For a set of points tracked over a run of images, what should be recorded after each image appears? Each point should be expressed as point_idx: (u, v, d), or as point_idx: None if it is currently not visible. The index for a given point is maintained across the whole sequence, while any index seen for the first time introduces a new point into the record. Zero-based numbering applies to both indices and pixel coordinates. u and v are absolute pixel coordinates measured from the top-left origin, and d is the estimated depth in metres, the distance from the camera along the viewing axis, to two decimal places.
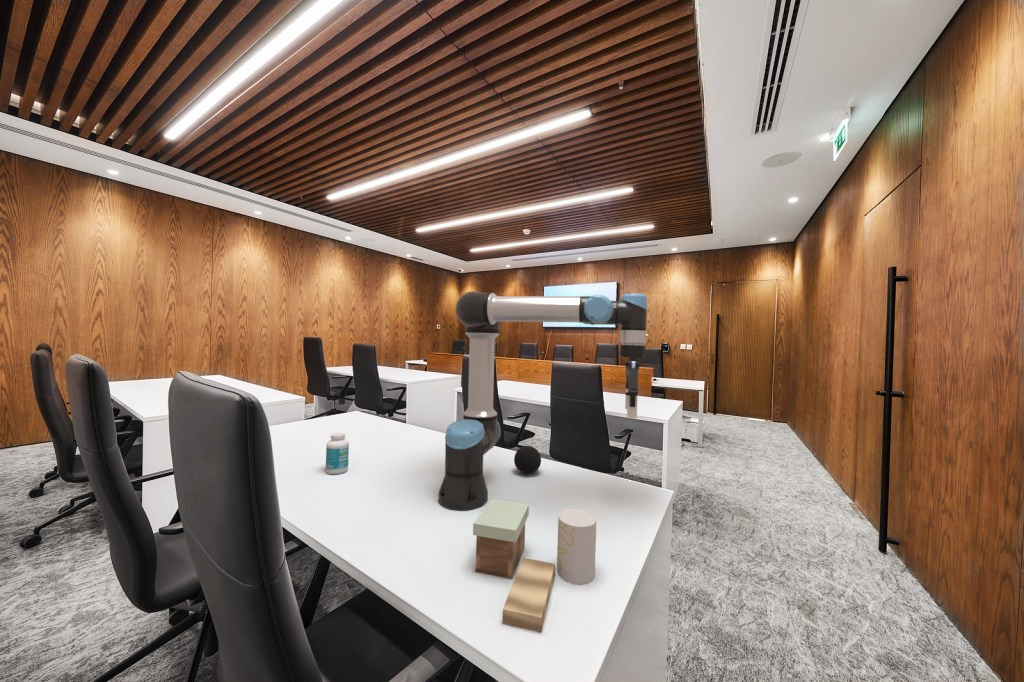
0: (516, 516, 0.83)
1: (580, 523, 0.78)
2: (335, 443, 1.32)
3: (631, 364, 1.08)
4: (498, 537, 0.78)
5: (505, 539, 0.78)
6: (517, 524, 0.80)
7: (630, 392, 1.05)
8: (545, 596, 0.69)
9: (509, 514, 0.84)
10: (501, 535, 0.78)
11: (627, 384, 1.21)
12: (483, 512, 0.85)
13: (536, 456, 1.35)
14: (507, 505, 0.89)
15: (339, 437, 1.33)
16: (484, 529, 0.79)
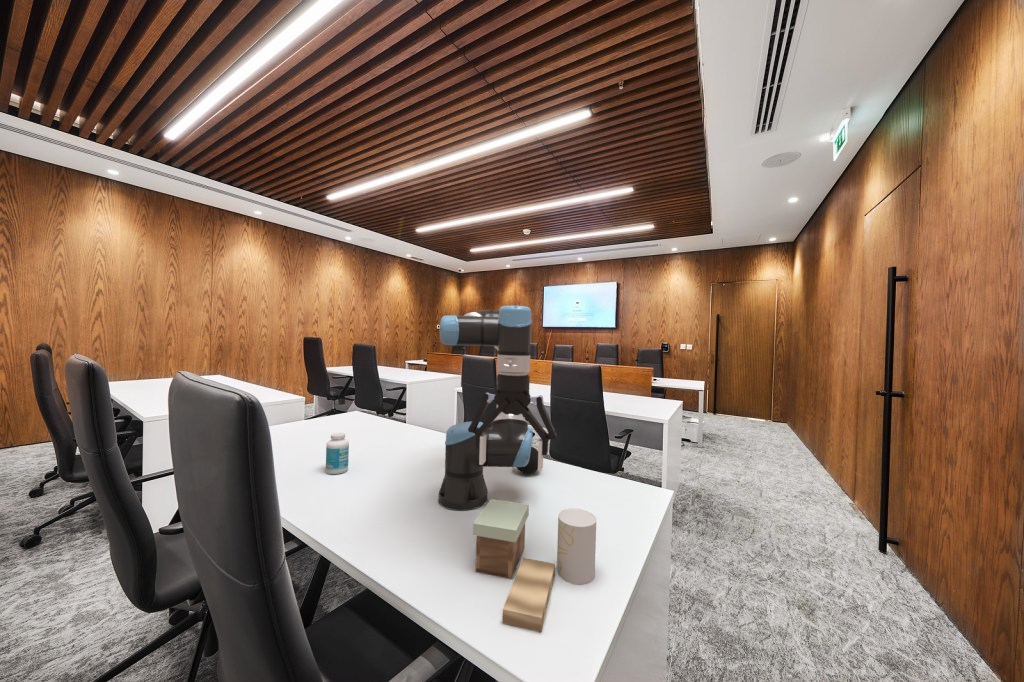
0: (516, 516, 0.83)
1: (580, 523, 0.78)
2: (335, 443, 1.32)
3: None
4: (498, 537, 0.78)
5: (505, 539, 0.78)
6: (517, 524, 0.80)
7: None
8: (545, 596, 0.69)
9: (509, 514, 0.84)
10: (501, 535, 0.78)
11: None
12: (483, 512, 0.85)
13: (536, 456, 1.35)
14: (507, 505, 0.89)
15: (339, 437, 1.33)
16: (484, 529, 0.79)
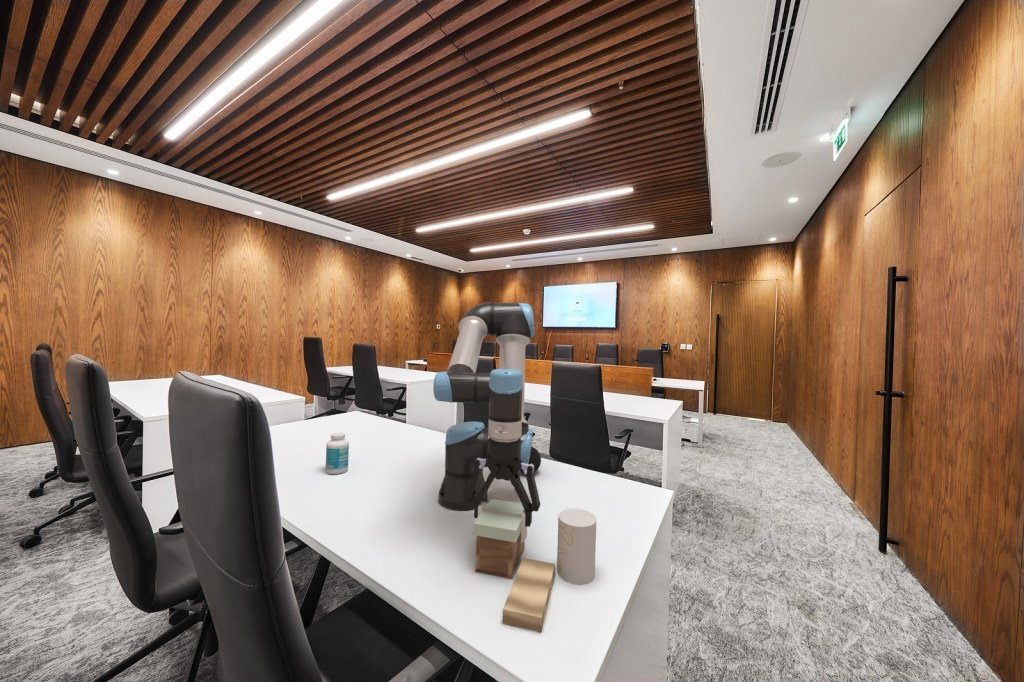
0: (516, 516, 0.83)
1: (580, 523, 0.78)
2: (335, 443, 1.32)
3: None
4: (498, 537, 0.78)
5: (505, 539, 0.78)
6: (517, 524, 0.80)
7: None
8: (545, 596, 0.69)
9: (509, 514, 0.84)
10: (501, 535, 0.78)
11: None
12: (483, 512, 0.85)
13: (536, 456, 1.35)
14: (507, 505, 0.89)
15: (339, 437, 1.33)
16: (484, 529, 0.79)
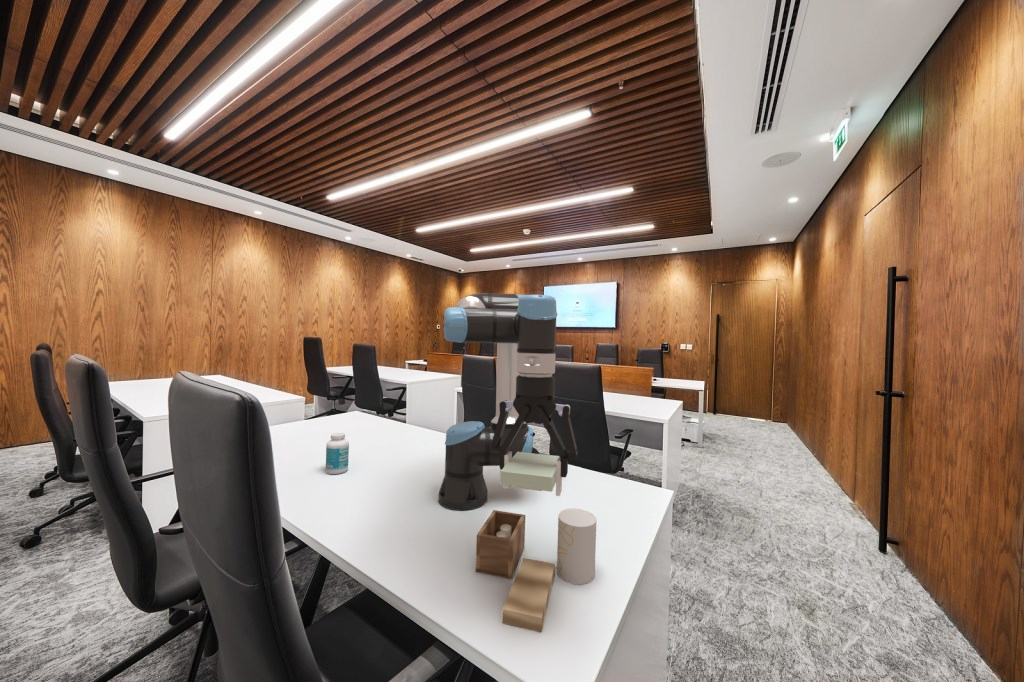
0: (549, 466, 0.71)
1: (580, 523, 0.78)
2: (335, 443, 1.32)
3: None
4: (530, 486, 0.66)
5: (539, 488, 0.66)
6: (552, 472, 0.68)
7: None
8: (545, 596, 0.69)
9: (541, 464, 0.72)
10: (534, 484, 0.66)
11: None
12: (510, 462, 0.73)
13: None
14: (537, 456, 0.77)
15: (339, 437, 1.33)
16: (514, 478, 0.67)
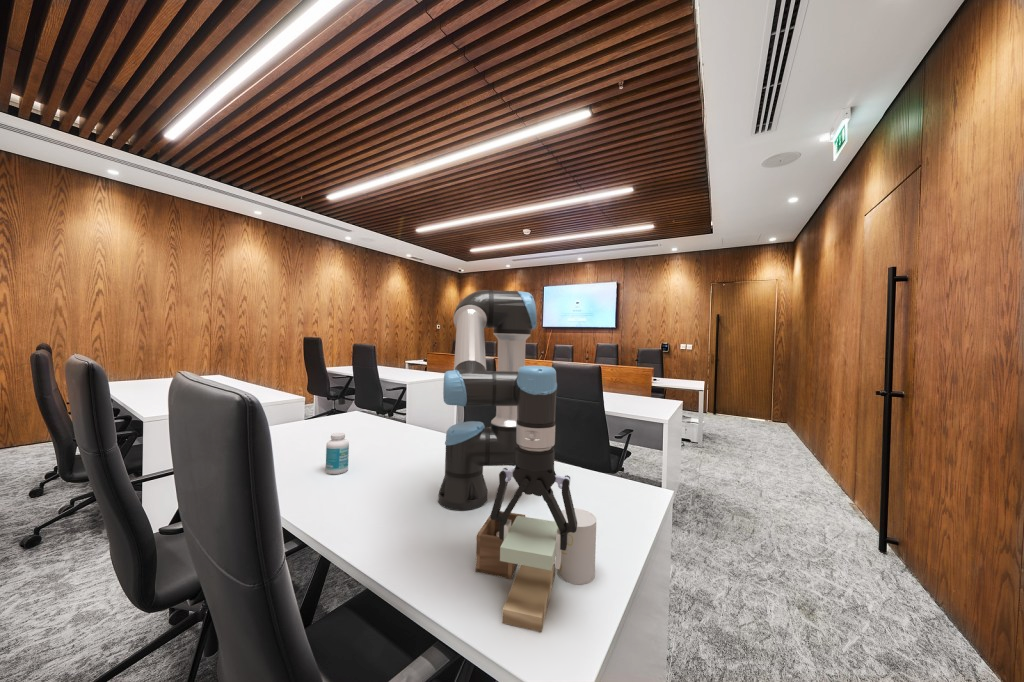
0: (549, 538, 0.71)
1: (580, 523, 0.78)
2: (335, 443, 1.32)
3: None
4: (530, 564, 0.66)
5: (539, 566, 0.66)
6: (552, 548, 0.68)
7: None
8: (545, 596, 0.69)
9: (540, 535, 0.72)
10: (534, 562, 0.66)
11: None
12: (510, 532, 0.73)
13: None
14: (536, 523, 0.77)
15: (339, 437, 1.33)
16: (514, 555, 0.67)
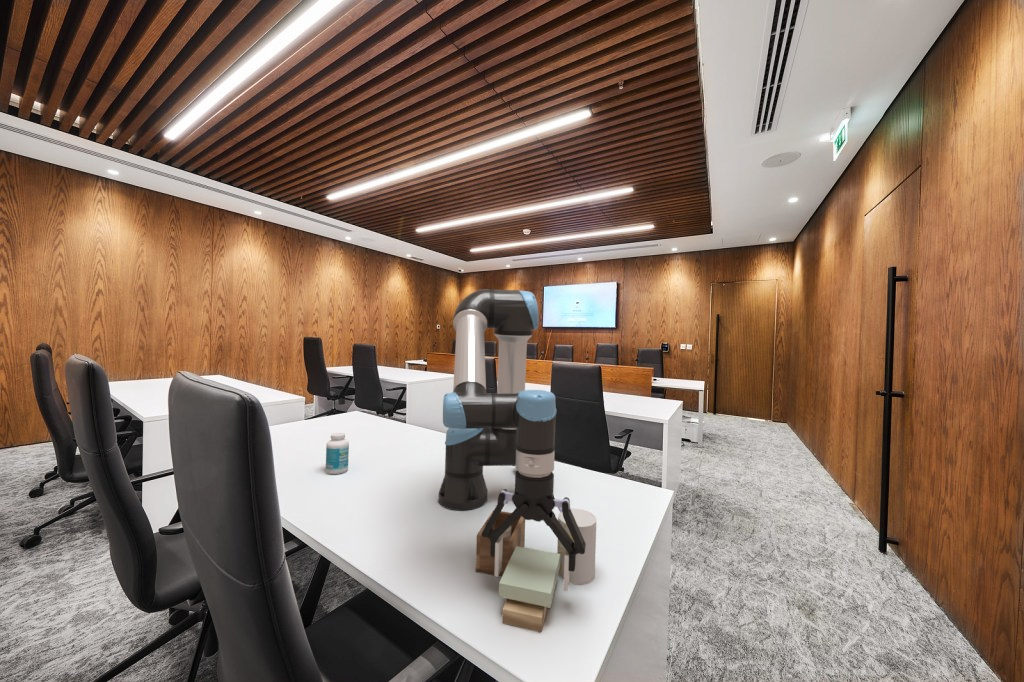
0: (548, 572, 0.71)
1: (580, 523, 0.78)
2: (335, 443, 1.32)
3: None
4: (529, 600, 0.66)
5: (538, 603, 0.66)
6: (551, 584, 0.68)
7: None
8: None
9: (539, 569, 0.72)
10: (533, 598, 0.66)
11: None
12: (509, 566, 0.73)
13: None
14: (535, 555, 0.77)
15: (339, 437, 1.33)
16: (513, 591, 0.67)
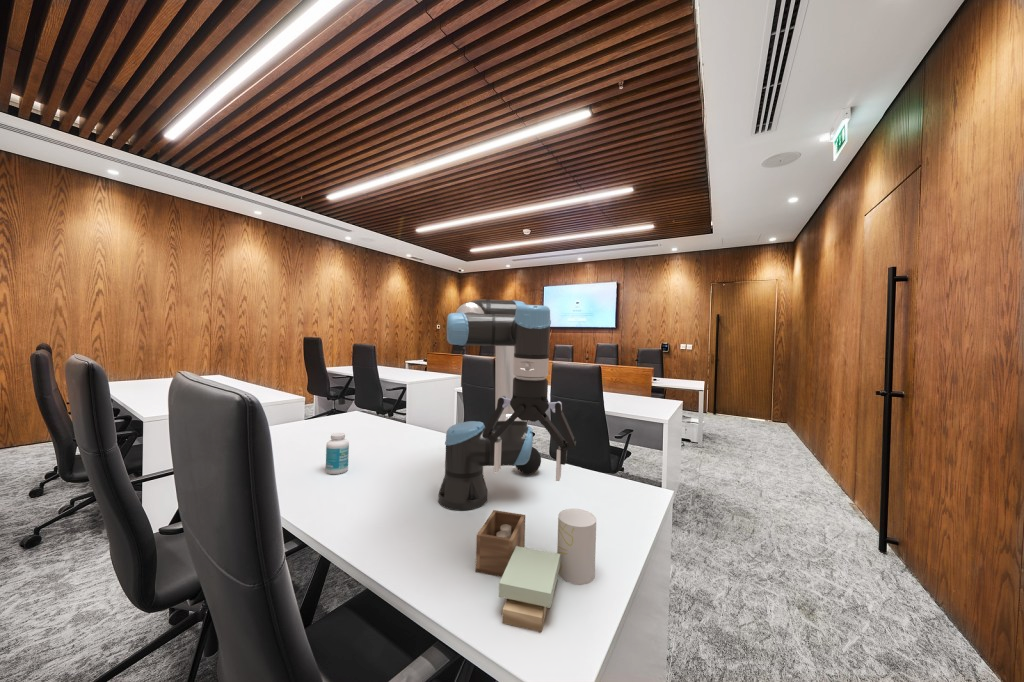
0: (548, 572, 0.71)
1: (580, 523, 0.78)
2: (335, 443, 1.32)
3: None
4: (529, 600, 0.66)
5: (538, 603, 0.66)
6: (551, 584, 0.68)
7: None
8: None
9: (539, 569, 0.72)
10: (533, 598, 0.66)
11: None
12: (509, 566, 0.73)
13: (536, 456, 1.35)
14: (535, 555, 0.77)
15: (339, 437, 1.33)
16: (513, 591, 0.67)
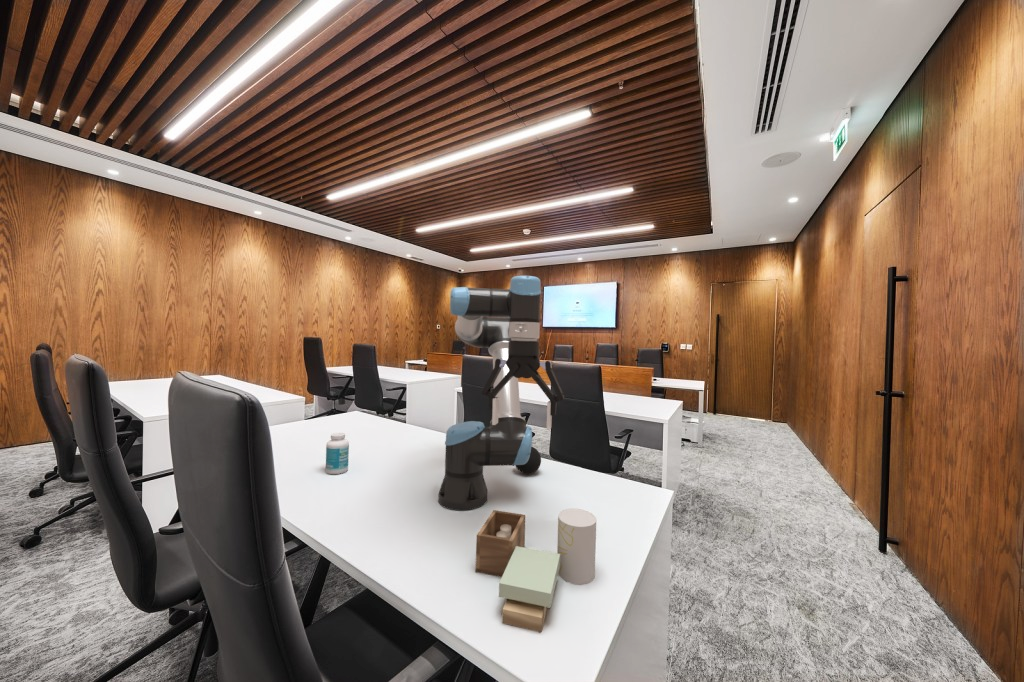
0: (548, 572, 0.71)
1: (580, 523, 0.78)
2: (335, 443, 1.32)
3: None
4: (529, 600, 0.66)
5: (538, 603, 0.66)
6: (551, 584, 0.68)
7: None
8: None
9: (539, 569, 0.72)
10: (533, 598, 0.66)
11: None
12: (509, 566, 0.73)
13: (536, 456, 1.35)
14: (535, 555, 0.77)
15: (339, 437, 1.33)
16: (513, 591, 0.67)
